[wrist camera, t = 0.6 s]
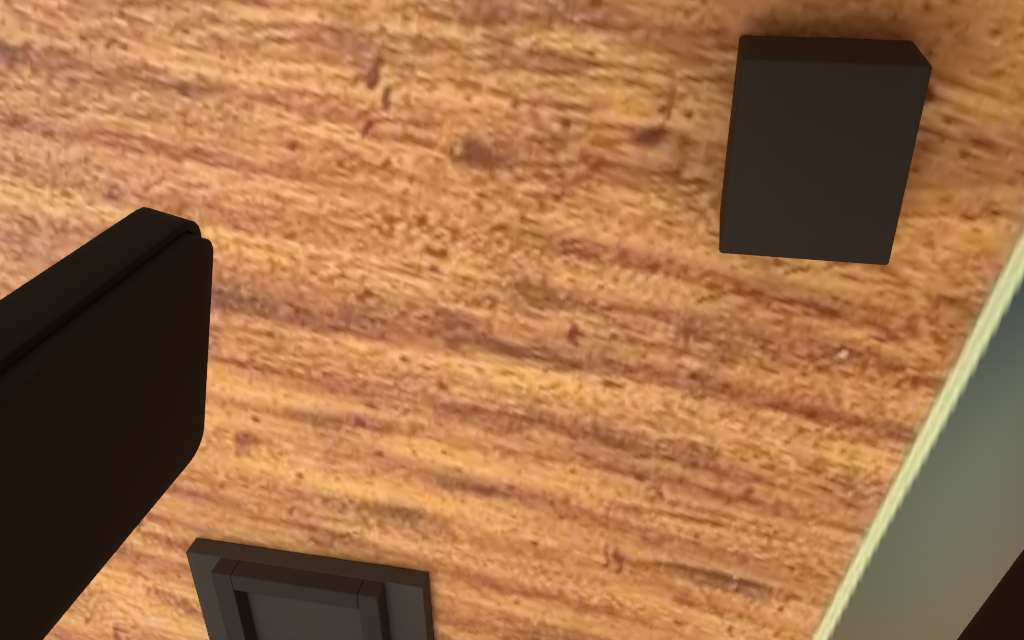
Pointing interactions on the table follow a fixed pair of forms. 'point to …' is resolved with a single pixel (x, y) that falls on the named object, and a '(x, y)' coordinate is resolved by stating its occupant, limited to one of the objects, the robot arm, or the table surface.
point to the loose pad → (820, 146)
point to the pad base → (305, 596)
